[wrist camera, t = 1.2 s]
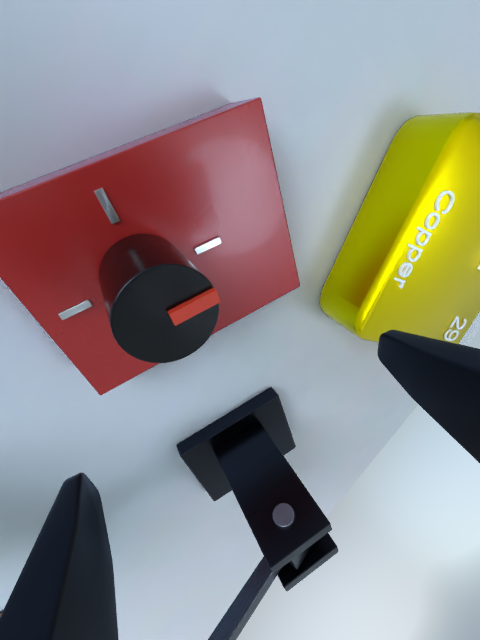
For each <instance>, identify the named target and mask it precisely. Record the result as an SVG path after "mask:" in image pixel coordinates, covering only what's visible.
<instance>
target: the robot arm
mask: <svg viewBox="0 0 480 640" xmlns="http://www.w3.org/2000/svg"><path fill="white" fill-rule="evenodd" d="M378 357H379V359H380V361H381V362H382V364H383V365H384V366H385V367H386V368H387V369H388V371H389V372H390V373H391V374H392V375H393V376H394V378H395V379H396V380H397V381H398V382H399V383H400V385H401V386H402V387H403V388H404V389H405V390H406V392H407V393H408V394H409V395H410V396H411V397H412V398H413V399H414V400H415V401H416V402H417V403H418V404H419V405H420V406H421V407H422V408H423V409H424V410H425V411H426V412H427V413H428V414H429V415H430V416H431V417H432V418H433V419H434V420H435V421H436V422H438V423H439V424H440V425H441V426H442V427H443V428H444V429H445V430H446V431H447V432H448V433H449V434H450V435H451V436H452V437H453V438H454V439H455V440H456V441H457V442H458V443H459V444H461V446H463V448H465V449H466V450H467V451H468V452H469V453H470V454H471V455H472V456H473V457H474V458H475V459H476V460H477V461H478V462H479V463H480V349H477V348H473V347H468V346H464V345H460V344H455V343H451V342H447V341H442V340H438V339H433V338H429V337H425V336H420V335H416V334H411V333H407V332H403V331H398V330H389V331H386V332H384V333H382V334H381V335H380V337H379V344H378ZM0 640H118V627H117V614H116V600H115V586H114V573H113V562H112V556H111V550H110V544H109V539H108V534H107V529H106V523H105V518H104V513H103V508H102V502H101V497H100V494H99V492H98V490H97V488H96V487H95V486H94V484H93V483H92V482H91V481H90V479H89V478H88V477H87V476H86V475H85V474H84V473H79V474H77V475H75V476H72V477H70V478H68V479H67V480H65V482H64V483H63V485H62V487H61V489H60V491H59V493H58V495H57V498H56V500H55V502H54V504H53V506H52V508H51V510H50V512H49V515H48V517H47V519H46V521H45V523H44V525H43V527H42V529H41V532H40V534H39V536H38V538H37V540H36V542H35V544H34V547H33V549H32V551H31V553H30V555H29V557H28V559H27V561H26V564H25V566H24V568H23V570H22V572H21V574H20V576H19V578H18V581H17V583H16V585H15V587H14V589H13V591H12V593H11V596H10V598H9V600H8V602H7V604H6V606H5V608H4V610H3V613H2V615H1V617H0Z"/></svg>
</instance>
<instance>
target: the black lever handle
mask: <svg viewBox="0 0 480 640" xmlns="http://www.w3.org/2000/svg"><path fill="white" fill-rule="evenodd" d="M312 545H313V544H312ZM312 545H311V546H310V547H308V548H307V549H306V550H304V551H303V552H302V553H300V554H299V555H298V556H296V557H295V558H294V559H292V560H291V561H290V562H289V563H290V564H291V565H292V566H293V567H294V568H295V569H298V568H299V566H300V565H301V563H302V561H303V560H304V558H305V557H306V555H307V553H308V552H309V550H310V548H311V547H312ZM280 570H281V568H280V569H279V570H278V571H276V572H275V573H273V572H272V570H271V569H270V567H269V565H268V563H267V561H266V559H265V557H263V558H262V560H261V561H260V563H259V564H258V566H257V567H256V569H255V570H254V572H253V573H252V575H251V576H250V578H249V579H248V581H247V582H246V584H245V585H244V587H243V588H242V590H241V591H240V593H239V594H238V596H237V597H236V599H235V600H234V602H233V603H232V605H231V606H230V608H229V609H228V611H227V612H226V613H225V615H224V616H223V618H222V619H221V621H220V622H219V624H218V625H217V627H216V628H215V630H214V631H213V633H212V634H211V636H210V637H209V639H208V640H236V639H237V637H238V636H239V634H240V633H241V631H242V629H243V628H244V626H245V625H246V623H247V622H248V620H249V618H250V617H251V615H252V614H253V612H254V610H255V609H256V607H257V606H258V604H259V603H260V601H261V599H262V598H263V596H264V595H265V593H266V592H267V590H268V589H269V587H270V585H271V584H272V582H273V581H274V579H275V577H276V576H277V574H278V573H279V571H280Z"/></svg>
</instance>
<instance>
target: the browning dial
mask: <svg viewBox="0 0 480 640" xmlns="http://www.w3.org/2000/svg"><path fill="white" fill-rule="evenodd" d="M99 283H100V288H101V291H102V295H103V299H104V303H105V307H106V311H107V315H108V319H109V323H110V327H111V331H112V334H113V336H114V338H115V340H116V342H117V343H118V345H119V346H120V347H121V348H122V349H123V350H124V351H125V352H126V353H128V354H129V355H131V356H132V357H134V358H136V359H139V360H142V361H145V362H150V363H167V362H172V361H176V360H179V359H182V358H184V357H186V356H188V355H190V354H192V353H193V352H195V351H196V350H197V349H199V348H200V347H201V346H202V345H203V344H204V343H205V342H206V341H207V339H208V338H209V337H210V335H211V334H212V332H213V330H214V328H215V326H216V323H217V320H218V315H219V303H220V302H221V300H220V298H219V295H218V293H217V290H216V289H215V288H214V286H213V285H212V283H211V282H210V281H209V279H208V278H207V277H206V276H205V275H204V274H203V273H202V272H201V271H200V270H199V269H198V268H196V267H195V266H194V265H193V264H192V263H191V262H190V261H189V260H188V259H187V258H186V257H185V256H184V255H183V254H182V253H181V252H180V251H179V250H178V249H177V248H176V247H175V246H174V245H173V244H172V243H170V242H169V241H167V240H166V239H164V238H162V237H160V236H156V235H152V234H134V235H130V236H127V237H124V238H122V239H121V240H119V241H117V242H116V243H114V244H113V245H112V246H111V247H110V248H109V249H108V250H107V252H106V253H105V255H104V256H103V258H102V261H101V263H100V267H99Z"/></svg>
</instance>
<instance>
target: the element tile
mask: <svg viewBox="0 0 480 640" xmlns="http://www.w3.org/2000/svg"><path fill="white" fill-rule="evenodd" d="M320 305H321V309H322V311H323V312H324V313H325V314H326V315H327V316H328V317H330V318H331V319H333V320H334V321H336V322H337V323H339V324H340V325H342V326H343V327H345V328H346V329H348V330H349V331H350V332H352V333H353V334H355V335H356V336H358V337H360V338H362V339H364V340H370V341H375V342H379V337H380V335H381V334H382V333H384V332H386V331H389V330H398V331H403V332H407V333H411V334H416V335H420V336H425V337H429V338H433V339H438V340H442V341H447V342H451V343H455V344H458V343H459V342H460V341H461V339H462V338H463V336H464V335H465V333H466V331H467V330H468V328H469V327H470V325H471V324H472V322H473V321H474V319H475V318H476V316H477V315H478V313H479V311H480V113H454V114H437V115H420V116H415V117H413V118H411V119H410V120H408V121H406V122H405V123H404V124H403V125H402V127H401V128H400V129H399V130H398V132H397V133H396V135H395V137H394V138H393V140H392V142H391V144H390V146H389V148H388V150H387V153H386V155H385V157H384V159H383V161H382V163H381V165H380V167H379V170H378V172H377V174H376V176H375V178H374V180H373V182H372V184H371V187H370V189H369V191H368V193H367V195H366V197H365V199H364V201H363V203H362V206H361V208H360V210H359V212H358V214H357V216H356V218H355V220H354V223H353V225H352V227H351V229H350V231H349V233H348V235H347V237H346V240H345V242H344V244H343V246H342V248H341V250H340V252H339V254H338V256H337V259H336V261H335V263H334V265H333V267H332V269H331V271H330V273H329V276H328V278H327V280H326V282H325V284H324V286H323V289H322V292H321V297H320Z"/></svg>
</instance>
